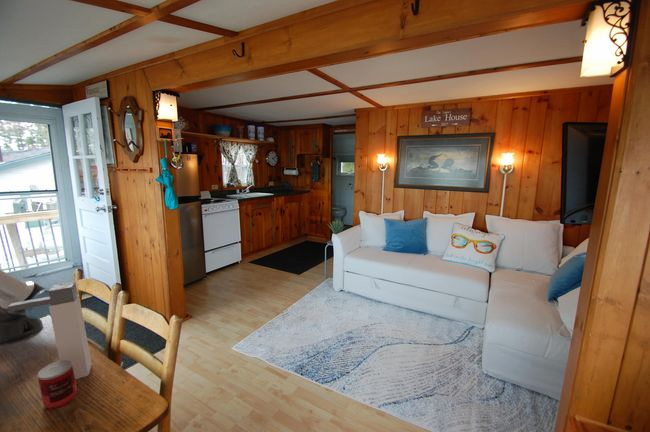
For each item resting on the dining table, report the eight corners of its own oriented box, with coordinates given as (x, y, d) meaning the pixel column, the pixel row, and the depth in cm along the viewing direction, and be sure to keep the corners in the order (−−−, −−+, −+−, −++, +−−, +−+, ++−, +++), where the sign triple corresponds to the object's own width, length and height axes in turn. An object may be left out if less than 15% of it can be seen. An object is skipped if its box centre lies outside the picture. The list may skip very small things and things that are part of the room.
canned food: (60, 389, 92) (54, 359, 90) (84, 389, 92) (78, 360, 90) (36, 409, 85) (29, 377, 82) (62, 410, 84) (55, 378, 82)
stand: (69, 371, 100) (54, 298, 94) (91, 364, 103) (78, 294, 97) (64, 382, 95) (48, 306, 89) (88, 375, 98) (74, 301, 92)
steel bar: (13, 306, 89) (10, 292, 88) (77, 295, 97) (75, 281, 96) (6, 314, 85) (3, 298, 84) (74, 301, 93) (71, 287, 92)
